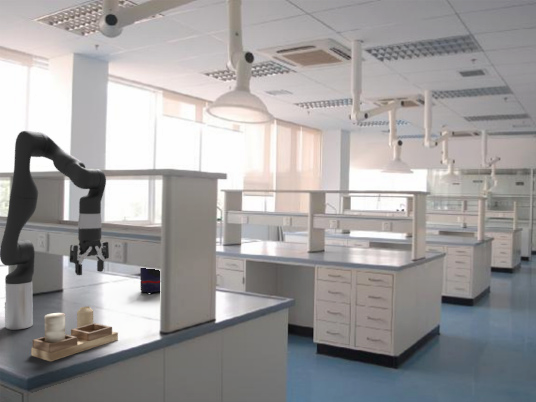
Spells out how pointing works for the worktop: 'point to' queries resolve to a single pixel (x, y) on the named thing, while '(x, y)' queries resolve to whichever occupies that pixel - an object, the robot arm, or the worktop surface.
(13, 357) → the worktop surface
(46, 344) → the wooden double holder
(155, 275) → the navy upright block
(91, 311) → the candle
